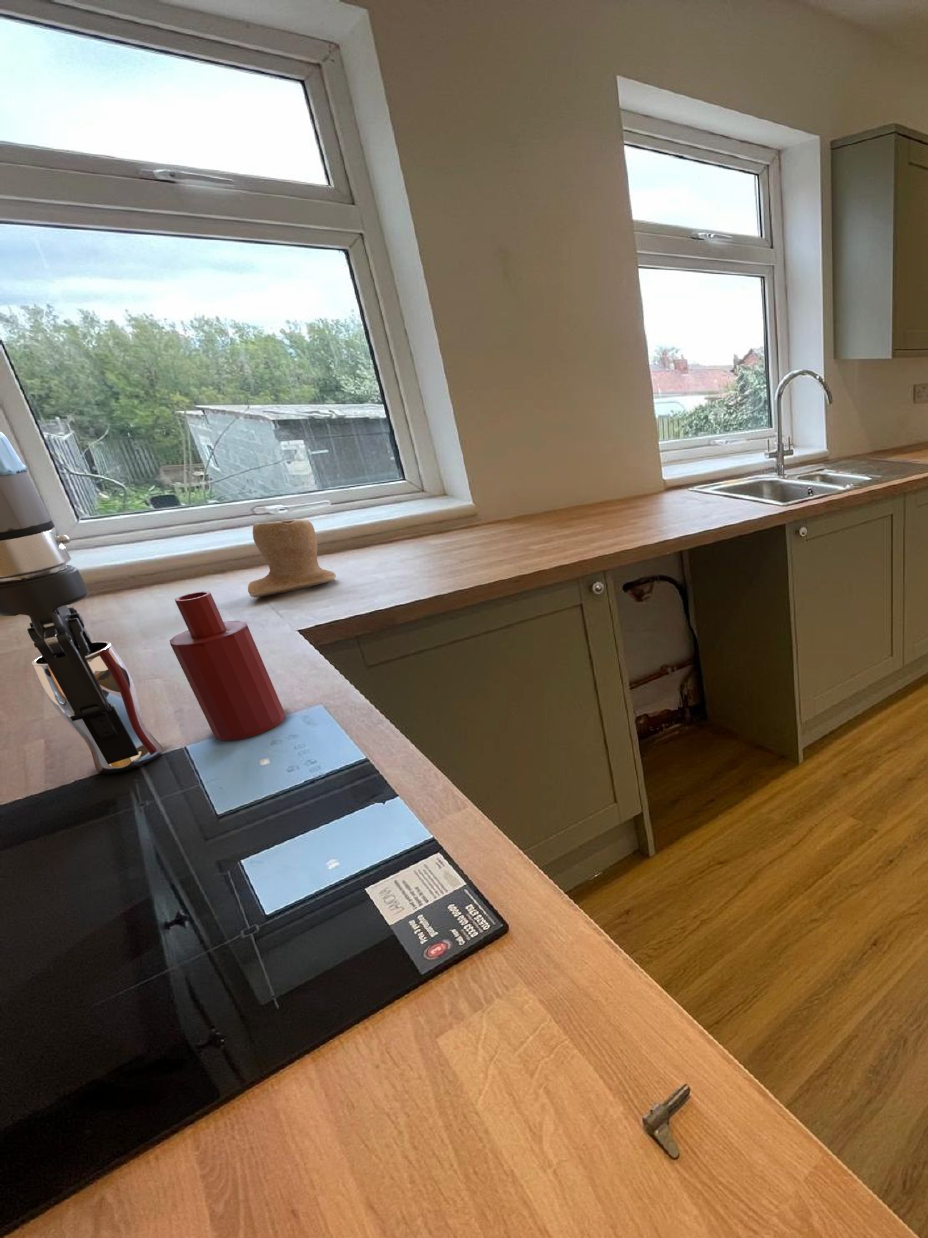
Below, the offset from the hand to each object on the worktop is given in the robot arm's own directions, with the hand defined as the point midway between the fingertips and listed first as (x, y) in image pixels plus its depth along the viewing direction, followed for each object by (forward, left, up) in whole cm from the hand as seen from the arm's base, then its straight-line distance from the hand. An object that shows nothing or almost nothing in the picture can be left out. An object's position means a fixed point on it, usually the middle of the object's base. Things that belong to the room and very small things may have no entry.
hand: (123, 747), depth 84 cm
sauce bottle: (+12, 0, -2) cm, 12 cm away
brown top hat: (+26, +69, -2) cm, 73 cm away
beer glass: (0, 0, -2) cm, 2 cm away
